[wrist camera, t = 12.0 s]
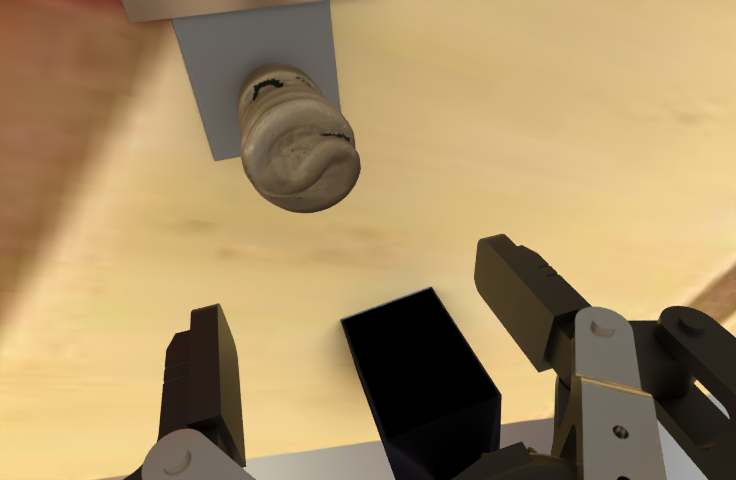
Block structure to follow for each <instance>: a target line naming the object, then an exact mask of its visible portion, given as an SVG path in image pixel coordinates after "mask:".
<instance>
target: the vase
mask: <svg viewBox="0 0 736 480" xmlns="http://www.w3.org/2000/svg"><path fill="white" fill-rule="evenodd" d="M341 323H342V326H343V329H344V332H345V335H346V338H347V342H348V345H349V348H350V351H351V354H352V357H353V360H354V363H355V367H356V370H357V373H358V376H359V379H360V381H361V384H362V387H363V390H364V393H365V395H366V398H367V401H368V404H369V407H370V409H371V412H372V415H373V418H374V421H375V424H376V426H377V429H378V432H379V435H380V438H381V440H382V443H383V446H384V449H385V452H386V454H387V457H388V460H389V463H390V466H391V469H392V471H393V474H394V477H395V479H396V480H450V479H453V478H455V477H456V476H457V475H459V474H460V473H461V472H463V471H464V470H465V469H467V468H468V467H469V466H471V465H472V464H473V463H475V462H476V461H477V460H479V459H480V458H481V457H483V456H484V455H485V454H488V453H491V452H494V451H496V450H499V449H500V426H501V397H502V395H501V393H500V392H499V390H498V389H497V387H496V386H495V384H494V382H493V381H492V379H491V378H490V376H489V375H488V373H487V372H486V370H485V369H484V367H483V366H482V364H481V362H480V361H479V359H478V358H477V356H476V355H475V353H474V352H473V350H472V349H471V347H470V345H469V344H468V342H467V341H466V339H465V338H464V336H463V335H462V333H461V332H460V330H459V328H458V327H457V325H456V324H455V322H454V321H453V319H452V318H451V316H450V315H449V313H448V312H447V310H446V308H445V307H444V305H443V304H442V302H441V301H440V299H439V298H438V296H437V295H436V293H435V291H434V290H433V288H432V287H429V288H426V289H423V290H421V291H418V292H415V293H412V294H410V295H407V296H404V297H401V298H399V299H396V300H393V301H390V302H387V303H385V304H382V305H379V306H376V307H374V308H371V309H368V310H365V311H363V312H360V313H357V314H354V315H352V316H349V317H346V318H343V319H341ZM527 451H528V452H529V453H537V452H536V451H535V450H534V449H533V448H531V447H528V449H527Z"/></svg>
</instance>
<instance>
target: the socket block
mask: <svg viewBox="0 0 736 480" xmlns="http://www.w3.org/2000/svg"><path fill="white" fill-rule="evenodd" d="M313 1H322V0H122V3H123V6H124V8H125V11H126V14H127V17H128V20H129V23H135V22H144V21H152V20H161V19H169V18H177V17H186V16H194V15H203V14H211V13H220V12H228V11H237V10H245V9H254V8H262V7H271V6H279V5H288V4H296V3H305V2H313Z"/></svg>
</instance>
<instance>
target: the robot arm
mask: <svg viewBox="0 0 736 480" xmlns="http://www.w3.org/2000/svg"><path fill="white" fill-rule="evenodd" d="M474 280H475V285H476V288H477V290H478V292H479V294H480V295H481V297H482V298H483V299H484V301H485V302H486V303H487V305H488V306H489V307H490V309H491V310H492V311H493V313H494V314H495V315H496V316H497V318H498V319H499V320H500V322H501V323H502V324H503V326H504V327H505V328H506V330H507V331H508V332H509V334H510V335H511V336H512V338H513V339H514V340H515V342H516V343H517V344H518V346H519V347H520V348H521V350H522V351H523V352H524V354H525V355H526V356H527V358H528V359H529V360H530V362H531V363H532V364H533V366H534V367H535V368H536V370H537V371H538V372H542V371H545V370H548V369H551V368H553V369H554V371H555V372H556V373H557V377H556V383H555V414H554V438H553V445H552V450H551V455H547V454H541V453H529V452H528V451H527V449H526V447H525V446H524V444H523V443H522V442H519V443H516V444H513V445H510V446H508V447H505V448H502V449H499V450H496V451H494V452H491V453H488V454H485V455H484V456H483V457H481V458H480V459H479V460H477V461H476V462H475V463H473V464H472V465H471V466H469V467H468V468H467V469H465V470H464V471H463V472H461V473H460V474H459V475H457V476H456V477H455V478H453V479H450V480H667V478H666V472H665V466H664V461H663V454H662V448H661V442H660V436H659V430H658V424H657V419H658V421H659V422H660V423H661V424H662V425H663V426H664V428H665V429H666V430H667V431H668V432H669V434H670V435H671V436H672V437H673V438H674V440H675V441H676V442H677V443H678V444H679V445H680V447H681V448H682V449H683V450H684V451H685V452H686V454H687V455H688V456H689V457H690V458H691V460H692V461H693V462H694V463H695V464H696V466H697V467H698V468H699V469H700V470H701V471H702V473H703V474H704V475H705V476H706V477H707V479H708V480H736V337H734V336H733V335H732V334H731V333H729V332H728V331H727V330H726V329H725V328H723V327H722V326H721V325H720V324H719V323H717V322H716V321H715V320H714V319H713V318H711V317H710V316H708V315H707V314H705V313H703V312H701V311H699V310H696V309H693V308H689V307H684V306H672V307H668V308H666V309H664V310H663V311H662V313H661V315H660V317H659V319H658V321H627V320H626V319H625V318H624V317H623V316H621V315H620V314H618V313H616V312H614V311H612V310H610V309H607V308H602V307H592V306H591V305H590V304H589V303H588V302H587V301H586V300H585V299H584V298H583V297H582V296H581V295H580V294H579V293H578V292H577V291H576V290H575V289H574V288H573V287H572V286H571V285H570V284H568V283H567V282H566V281H565V280H564V279H563V278H562V277H561V276H560V275H558V274H557V272H556V271H555V270H554V269H553V268H552V267H551V266H549V265H548V263H547V262H546V261H545V260H544V259H543V258H542V257H541V256H540V255H539V254H538V253H536V252H534V251H532V250H530V249H528V248H526V247H524V246H523V245H521V246H516V245H515V244H514V243H513V242H512V241H511V240H510V239H509V238H508V237H507V236H506V235H505V234H499V235H495V236H491V237H487V238H483V239H480V240H479V241H478V245H477V254H476V263H475V272H474ZM696 380H698V381H699V382H700V383H701V384H702V385H703V386H704V387H705V388H706V389H707V390H708V391H709V392H710V393H711V394H712V395H713V396H714V397H715V398H716V399H717V400H718V401H719V402H720V403H721V404H722V405H723V406H724V407H725V409H726V410H727V412H728V414H729V417H730V420H729V419H728V418H727V417H726V415H724V414H723V413H722V411H720V409H718V407H716V405H714V404H713V402H711V401H710V399H709V398H708V397H707V396H706V395H705V394H704V393H703V392H702V391H701V390H700V389H699V388H698V387H697V386H696V385H695V384H694V383H695V381H696ZM243 467H246V459H245V446H244V433H243V420H242V407H241V394H240V380H239V367H238V357H237V351H236V346H235V343H234V339H233V337H232V334H231V331H230V329H229V326H228V323H227V321H226V318H225V315H224V313H223V310H222V308H221V306H220V304H215V305H211V306H207V307H203V308H199V309H194V310H192V311H191V323H190V330H188V331H184V332H180V333H176V334H175V336H174V337H173V339H172V341H171V343H170V344H169V346H168V348H167V350H166V359H165V370H164V384H163V392H162V403H161V413H160V424H159V434H158V440H157V443H156V444H155V445H154V446H153V447H152V448H151V450H150V451H149V452H148V454H147V456H146V458H145V460H144V462H143V464H142V465H141V466H140V467H139V468H138V469H137V470H136V471H135V472H134V473H132V474H131V475H129V476H128V477H126V478H125V479H123V480H256V479H254V478H253V477H252V476H251V475H250V474H248V473H247V472H246V471H245V470H244V469H243Z"/></svg>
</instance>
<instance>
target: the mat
mask: <svg viewBox="0 0 736 480" xmlns="http://www.w3.org/2000/svg"><path fill="white" fill-rule="evenodd" d="M171 19H172V22H173V26H174V29H175V32H176V36H177V39H178V42H179V45H180V49H181V52H182V55H183V59H184V62H185V65H186V69H187V72H188V75H189V79H190V82H191V85H192V88H193V92H194V95H195V98H196V102H197V105H198V108H199V112H200V115H201V118H202V122H203V125H204V128H205V132H206V135H207V138H208V141H209V145H210V148H211V151H212V155H213V158H214V161H218V160H224V159H229V158H235V157H240V156H241V137H240V126H239V122H238V113H237V103H238V95H239V91H240V88H241V85H242V83H243V82H244V81H245V79H246V78H247V77H248V75H249V74H251V73H252V72H253V71H254V70H256V69H257V68H259V67H261V66H264V65H268V64H272V63H283V64H287V65H291V66H294V67H296V68H298V69H300V70H301V71H303V72H304V73H305V74H306V75H308V76H309V77H310V78H311V79H312V80H313V81H314V82H315V84H316V85H317V86H318V88H319V89H320V90H321V92H322V94H323V95H324V96H325V97H326V98H327V99H328V100H330V101H331V102H332V103H334V105H335V106H336V107H337V108H338V109H339V110H340V100H339V91H338V81H337V71H336V62H335V52H334V42H333V33H332V23H331V13H330V3H329V0H322V1H313V2H305V3H296V4H288V5H279V6H271V7H262V8H254V9H245V10H237V11H228V12H220V13H211V14H203V15H194V16H186V17H177V18H171ZM340 112H341V110H340Z"/></svg>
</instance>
